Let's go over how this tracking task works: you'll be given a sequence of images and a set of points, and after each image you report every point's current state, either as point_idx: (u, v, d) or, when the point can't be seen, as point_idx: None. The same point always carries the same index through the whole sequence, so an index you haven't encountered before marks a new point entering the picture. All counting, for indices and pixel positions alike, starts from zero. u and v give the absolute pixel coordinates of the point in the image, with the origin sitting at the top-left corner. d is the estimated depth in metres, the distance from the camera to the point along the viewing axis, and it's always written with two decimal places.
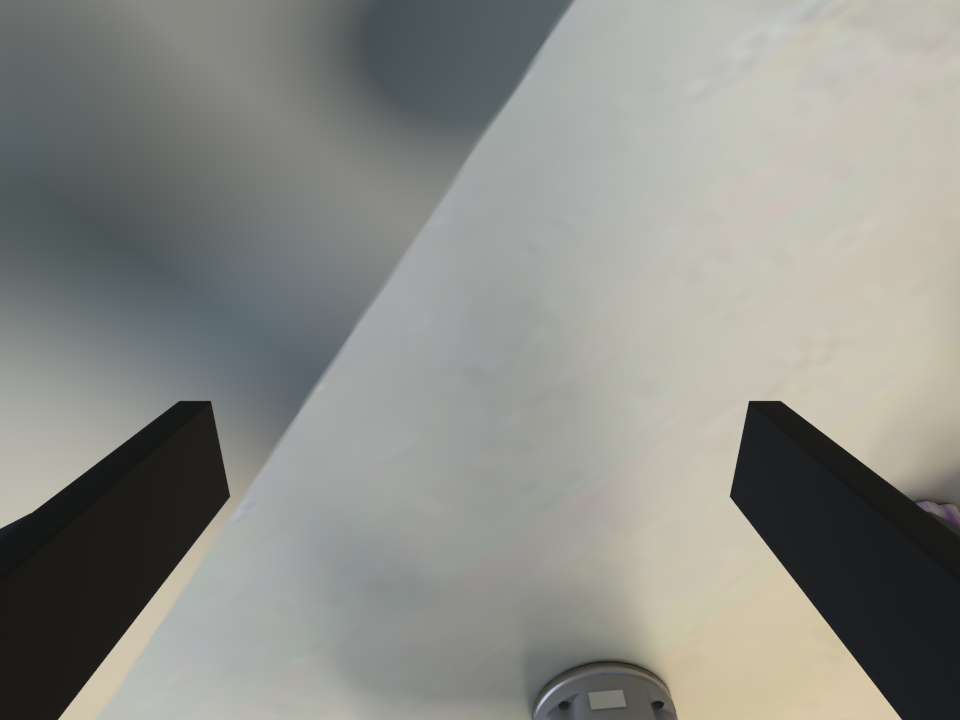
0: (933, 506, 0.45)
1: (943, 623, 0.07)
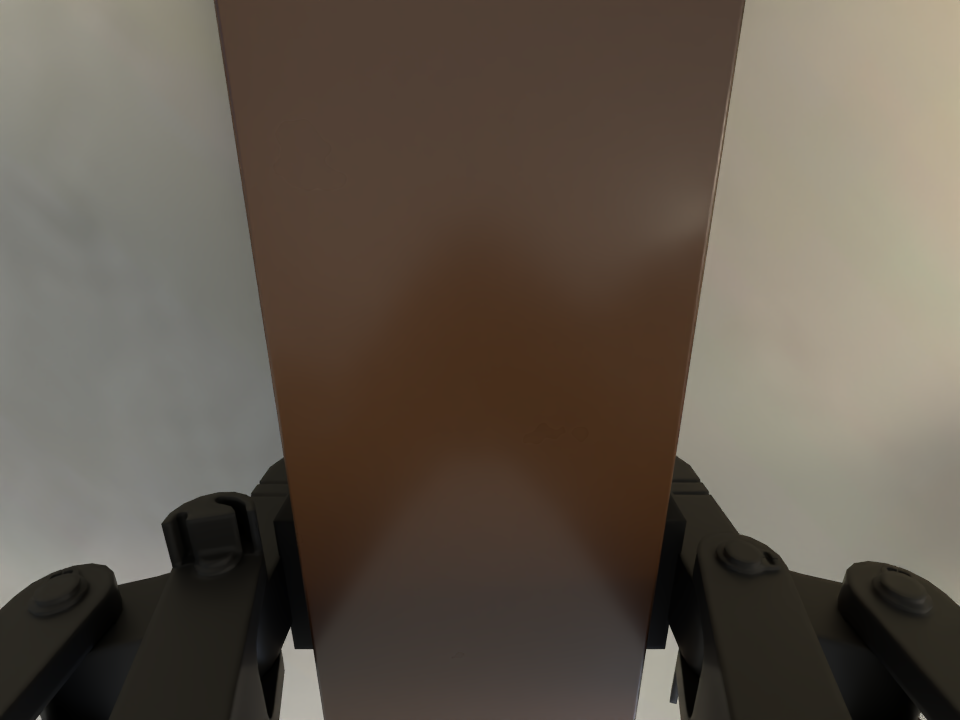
0: None
1: None
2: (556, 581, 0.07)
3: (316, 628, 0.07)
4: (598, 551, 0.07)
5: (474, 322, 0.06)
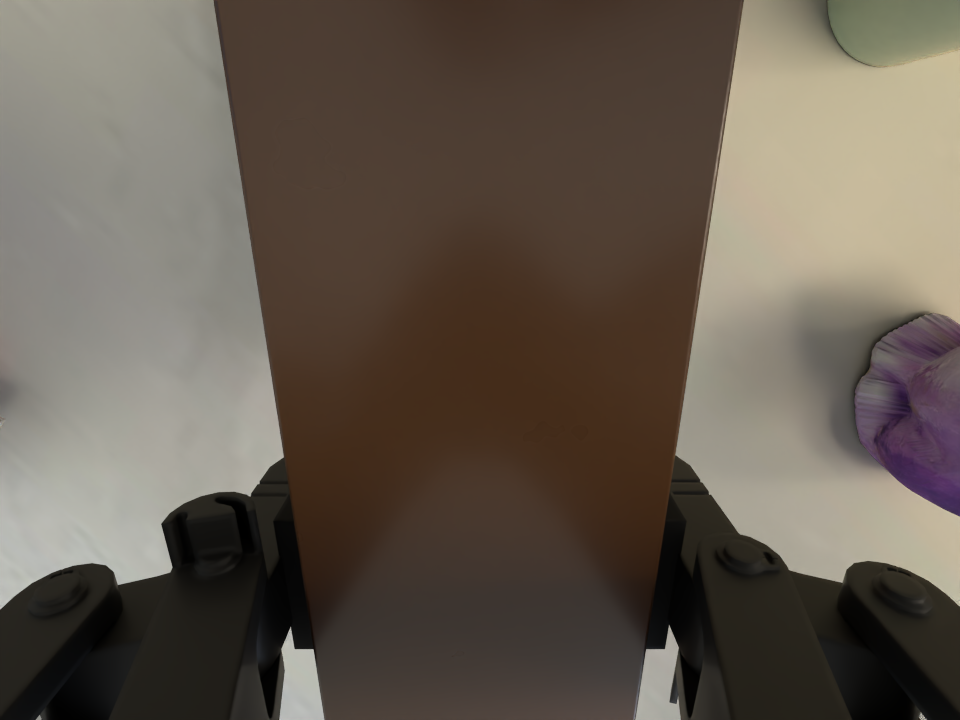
0: (866, 392, 0.27)
1: None
2: (556, 580, 0.07)
3: (316, 627, 0.07)
4: (598, 549, 0.07)
5: (473, 319, 0.06)
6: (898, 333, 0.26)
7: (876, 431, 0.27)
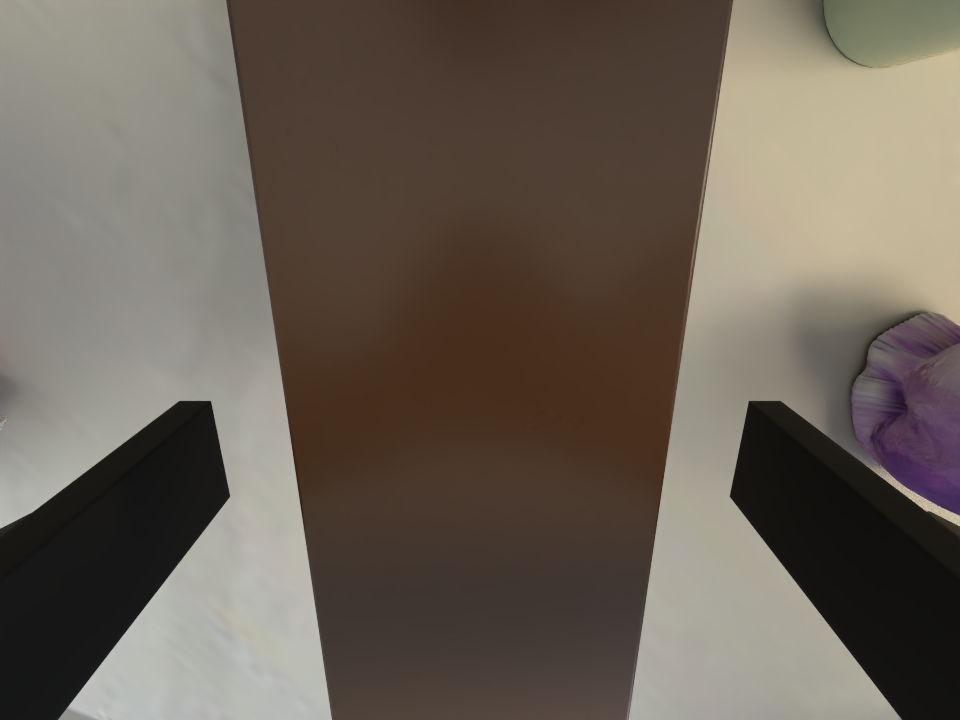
0: (863, 390, 0.27)
1: (943, 623, 0.07)
2: (553, 564, 0.07)
3: (322, 611, 0.08)
4: (594, 535, 0.07)
5: (474, 312, 0.06)
6: (894, 332, 0.27)
7: (873, 429, 0.28)
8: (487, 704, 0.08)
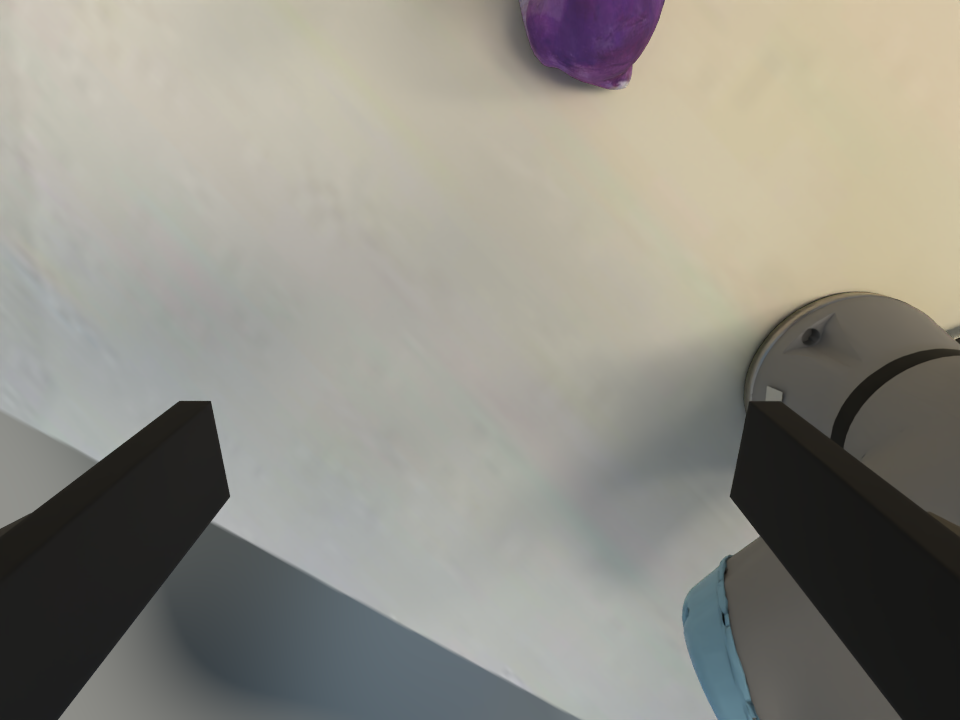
0: None
1: (943, 623, 0.07)
2: None
3: None
4: None
5: None
6: None
7: None
8: None
